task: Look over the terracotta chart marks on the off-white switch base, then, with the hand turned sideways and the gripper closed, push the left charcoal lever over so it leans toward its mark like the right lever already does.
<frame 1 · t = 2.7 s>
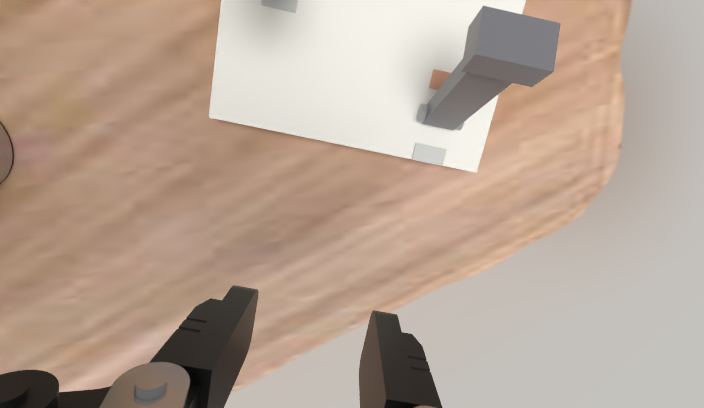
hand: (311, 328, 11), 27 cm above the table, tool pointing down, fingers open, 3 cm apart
switch base: (363, 52, 34), on the table
lever 1: (467, 90, 26), point 10 cm above the table, hinge at -18.0°
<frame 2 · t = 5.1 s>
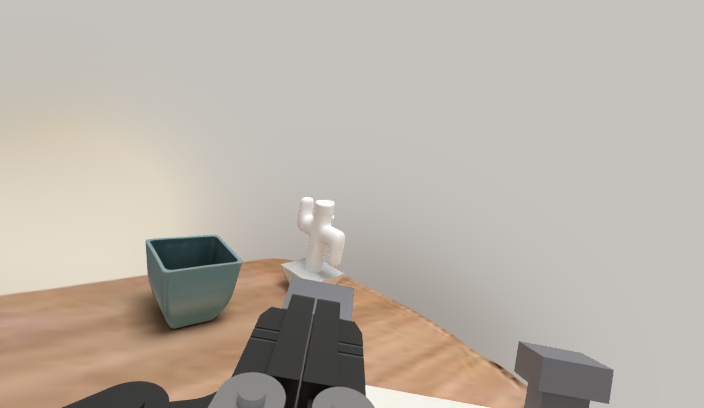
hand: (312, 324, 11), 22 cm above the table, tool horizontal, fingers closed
figurine: (308, 290, 56), on the table
lever 2: (307, 359, 27), point 10 cm above the table, hinge at 18.0°
flower pot: (187, 316, 44), on the table
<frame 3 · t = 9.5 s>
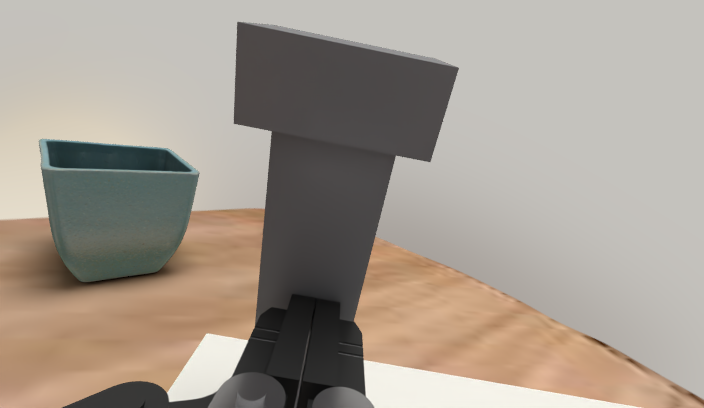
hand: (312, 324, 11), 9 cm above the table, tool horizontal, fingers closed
lever 2: (312, 277, 11), point 10 cm above the table, hinge at 11.2°, touching gripper
flower pot: (117, 267, 28), on the table
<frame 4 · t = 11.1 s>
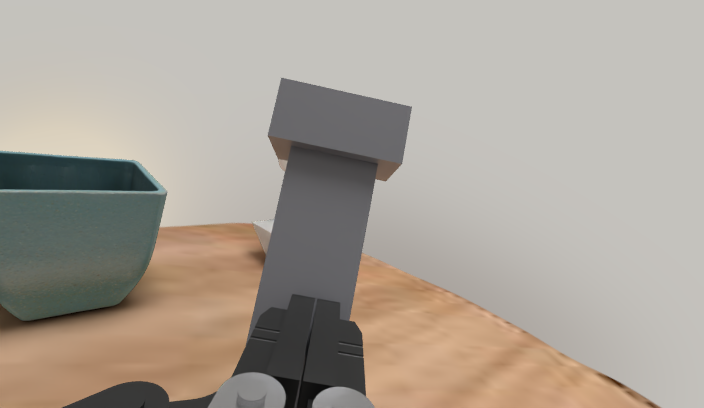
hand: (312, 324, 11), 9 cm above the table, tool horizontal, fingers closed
figurine: (296, 264, 37), on the table
lever 2: (305, 298, 12), point 10 cm above the table, hinge at -22.7°, touching gripper
flower pot: (71, 299, 24), on the table
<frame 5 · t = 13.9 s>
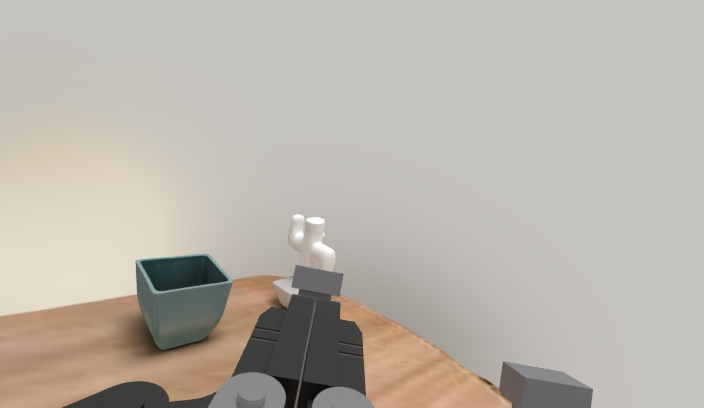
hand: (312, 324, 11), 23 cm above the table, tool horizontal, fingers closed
figurine: (299, 308, 57), on the table
lever 2: (304, 344, 32), point 10 cm above the table, hinge at -22.7°
flower pot: (177, 336, 44), on the table
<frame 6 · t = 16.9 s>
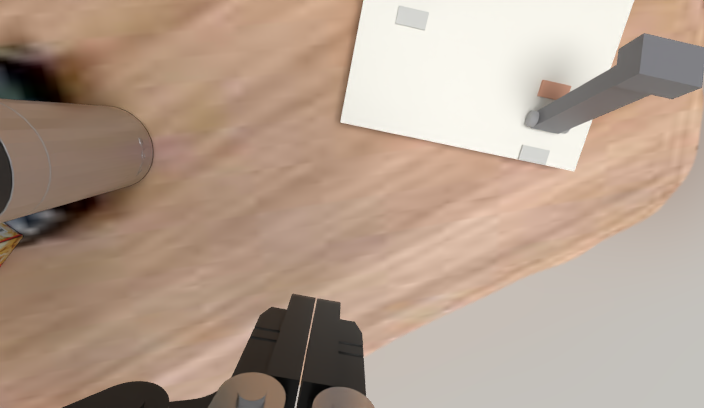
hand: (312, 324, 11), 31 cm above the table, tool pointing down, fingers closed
switch base: (473, 64, 38), on the table
lever 1: (593, 99, 30), point 10 cm above the table, hinge at -18.0°
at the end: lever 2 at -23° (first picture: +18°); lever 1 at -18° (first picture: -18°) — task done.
